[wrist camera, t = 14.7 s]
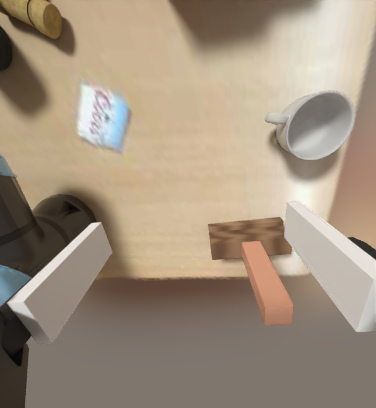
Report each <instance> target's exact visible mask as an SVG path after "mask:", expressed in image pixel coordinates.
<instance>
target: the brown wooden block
mask: <svg viewBox="0 0 376 408" xmlns="http://www.w3.org/2000/svg"><path fill="white" fill-rule="evenodd" d="M208 226H209V235H210V245H211V254H212V260H218V259H231V258H242V242H252V241H260V242H261V244H262V246H263V248H264V250H265V252H266V254H267V255H281V254H291V251H292V247H291V245H290V244H289V243H288V241H287V240H286V239H285V237H284V232H285V227H284V226H283V220H282V219H281V218H280V217H277V218H267V219H257V220H247V221H237V222H227V223H217V224H208Z"/></svg>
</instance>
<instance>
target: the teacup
mask: <svg viewBox="0 0 376 408" xmlns="http://www.w3.org/2000/svg"><path fill="white" fill-rule="evenodd" d="M265 121H266V122H268V123H272V124H276V125H277V128H276V136H277V139H278V142H279V144H280V145H281V146H282V148H284V149H285V150H286V151H288V152H289V153H291V154H293V155H294V156H296V157H297V158H300V159H303V160H317V159H321V158H324V157H326V156H328V155H330V154H332V153H333V152H334V151H336V150H337V149H338V148H339V147H340V146H341V145H342V144H343V143H344V142H345V141H346V139H347V138H348V137H349V134H350V133H351V131H352V128H353V125H354V121H355V109H354V106H353V103H352V101H351V100H350V99H349V98H348V97H347V96H346V95H345V94H343V93H341V92H338V91H323V92H319V93H316V94H311V95H307V96H304V97H301V98H299V99H297V100H295V101H294V102H292V103H291V104H290V105H289V106H288V107H287V108H286V109H285V110H284V111H283V113H282V114H280V113H275V112H268V113H267V115H266V117H265Z"/></svg>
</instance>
